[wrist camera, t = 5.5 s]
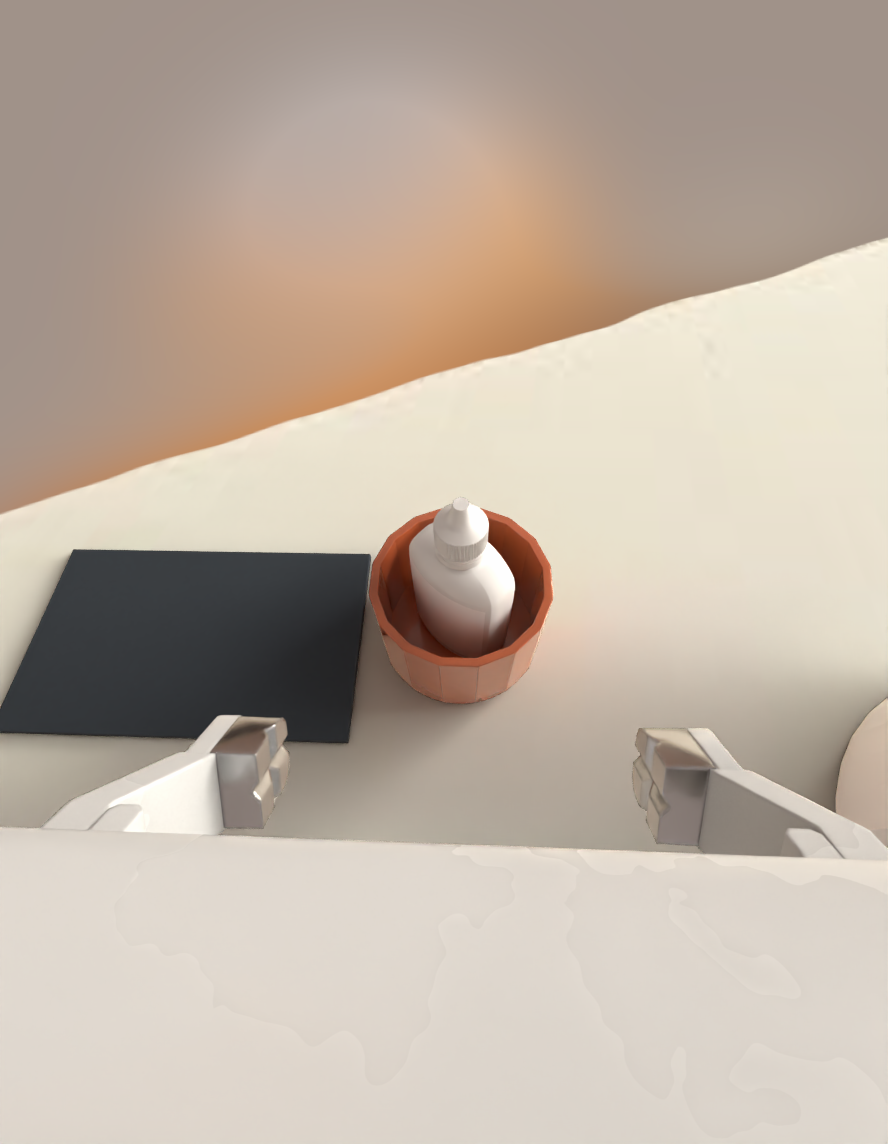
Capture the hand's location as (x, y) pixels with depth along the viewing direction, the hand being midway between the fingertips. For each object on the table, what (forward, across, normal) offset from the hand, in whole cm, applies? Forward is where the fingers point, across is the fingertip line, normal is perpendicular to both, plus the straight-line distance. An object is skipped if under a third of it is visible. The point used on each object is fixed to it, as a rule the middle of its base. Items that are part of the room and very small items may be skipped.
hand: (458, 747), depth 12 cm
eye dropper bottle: (+20, 0, +4) cm, 20 cm away
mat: (+19, +16, +5) cm, 25 cm away
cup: (+20, 0, +4) cm, 20 cm away
